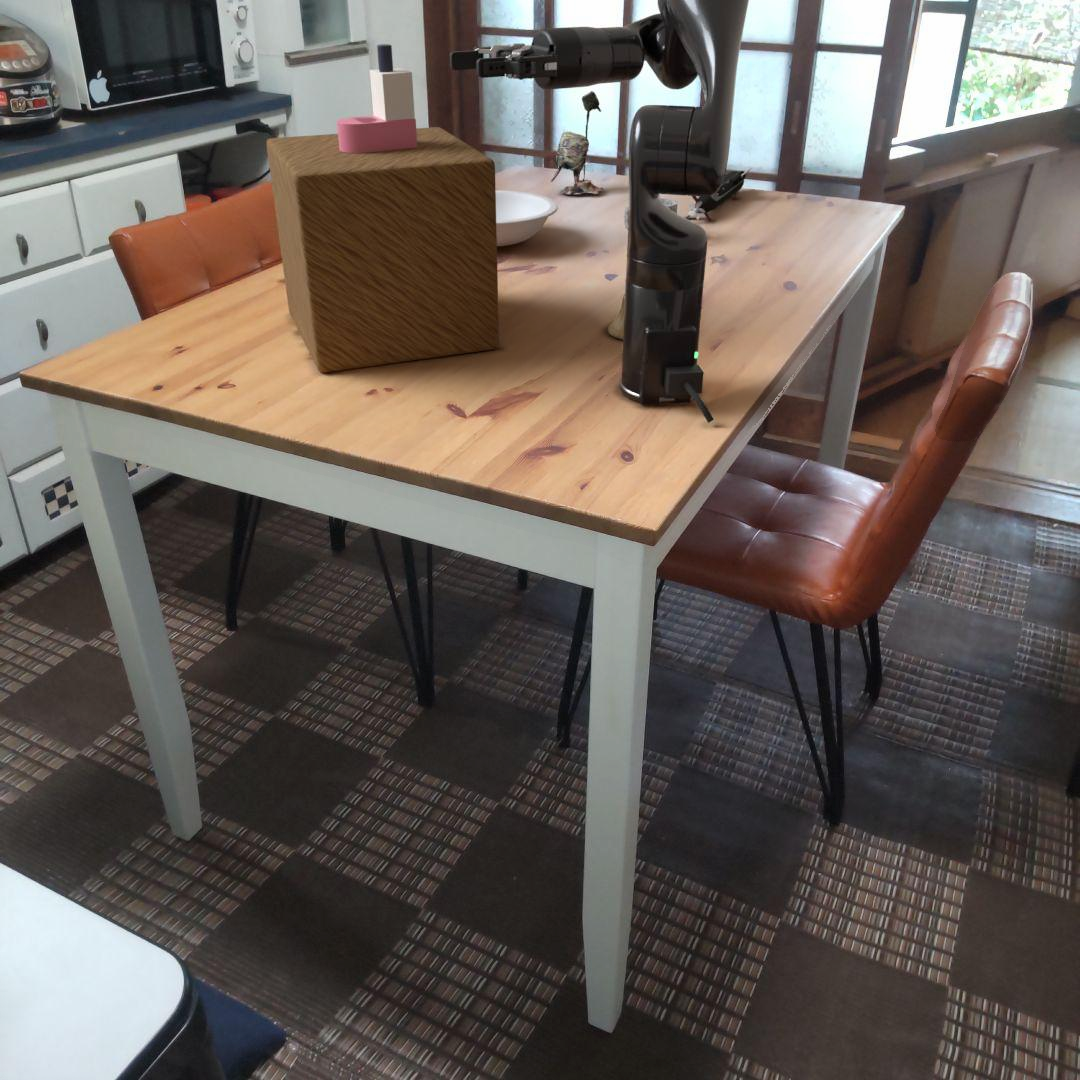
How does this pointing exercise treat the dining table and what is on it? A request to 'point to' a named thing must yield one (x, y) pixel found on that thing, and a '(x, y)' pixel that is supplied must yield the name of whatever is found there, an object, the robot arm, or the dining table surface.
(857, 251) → the dining table surface
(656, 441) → the dining table surface
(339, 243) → the wood block
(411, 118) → the block stack
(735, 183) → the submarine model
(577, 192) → the bird figurine
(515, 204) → the soup bowl
